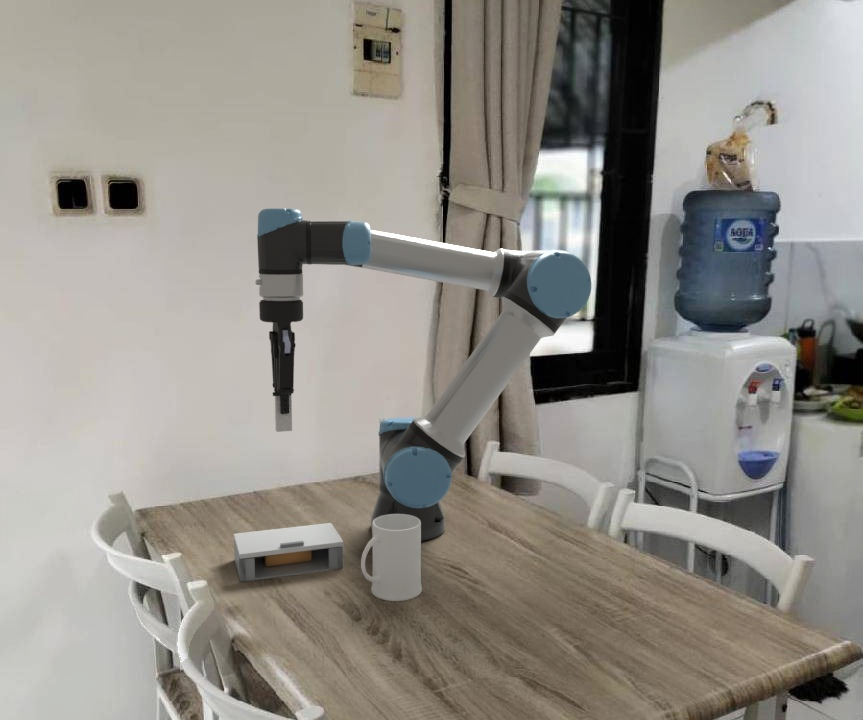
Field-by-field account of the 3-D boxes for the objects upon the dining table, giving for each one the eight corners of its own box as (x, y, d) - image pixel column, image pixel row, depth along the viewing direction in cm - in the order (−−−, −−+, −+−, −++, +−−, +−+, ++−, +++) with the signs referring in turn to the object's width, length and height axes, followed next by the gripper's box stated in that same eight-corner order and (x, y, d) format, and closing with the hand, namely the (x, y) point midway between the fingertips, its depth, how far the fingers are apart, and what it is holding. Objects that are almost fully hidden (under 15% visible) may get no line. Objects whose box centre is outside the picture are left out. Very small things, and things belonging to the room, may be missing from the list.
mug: (374, 612, 121) (374, 539, 119) (344, 593, 127) (344, 524, 126) (432, 591, 128) (432, 523, 127) (401, 575, 135) (401, 509, 133)
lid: (331, 526, 146) (330, 519, 146) (343, 546, 136) (343, 538, 136) (233, 537, 140) (233, 530, 140) (239, 558, 130) (239, 551, 130)
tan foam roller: (306, 541, 142) (309, 536, 139) (309, 563, 141) (312, 558, 137) (263, 546, 140) (265, 541, 136) (265, 568, 138) (267, 564, 135)
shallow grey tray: (331, 547, 147) (331, 527, 146) (343, 568, 137) (342, 547, 137) (234, 559, 141) (234, 539, 140) (240, 582, 131) (239, 559, 131)
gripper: (254, 296, 139) (258, 423, 142) (264, 301, 127) (267, 440, 130) (296, 296, 141) (298, 421, 145) (309, 300, 129) (311, 437, 133)
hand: (283, 430), depth 137 cm, fingers closed
